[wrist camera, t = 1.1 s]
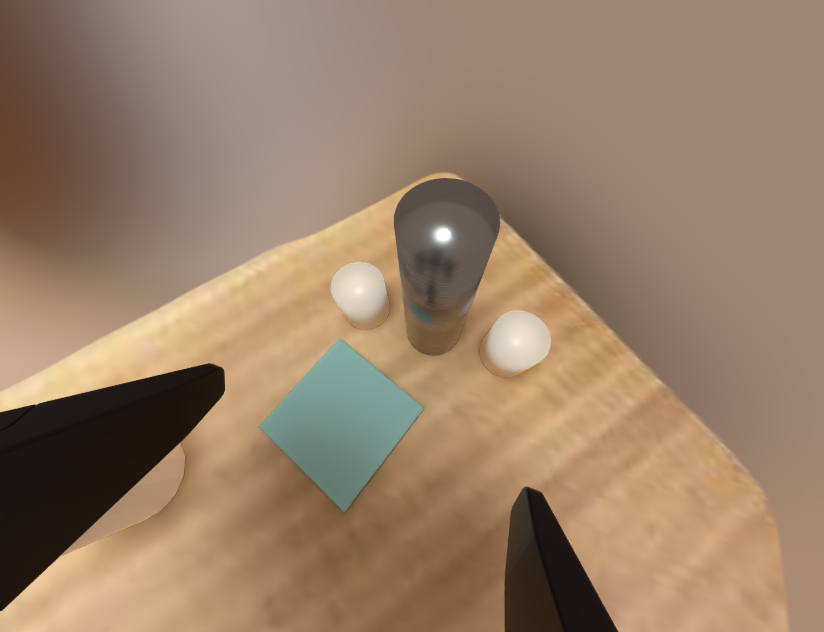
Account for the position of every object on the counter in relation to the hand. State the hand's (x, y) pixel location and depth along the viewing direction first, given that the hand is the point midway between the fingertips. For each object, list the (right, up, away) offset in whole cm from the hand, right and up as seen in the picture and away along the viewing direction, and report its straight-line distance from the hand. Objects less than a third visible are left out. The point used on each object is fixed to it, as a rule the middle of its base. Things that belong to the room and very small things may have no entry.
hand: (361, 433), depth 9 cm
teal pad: (-3, -4, +13) cm, 14 cm away
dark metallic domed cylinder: (+3, +2, +15) cm, 16 cm away
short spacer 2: (+8, +1, +15) cm, 17 cm away
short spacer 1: (-2, +4, +16) cm, 17 cm away
